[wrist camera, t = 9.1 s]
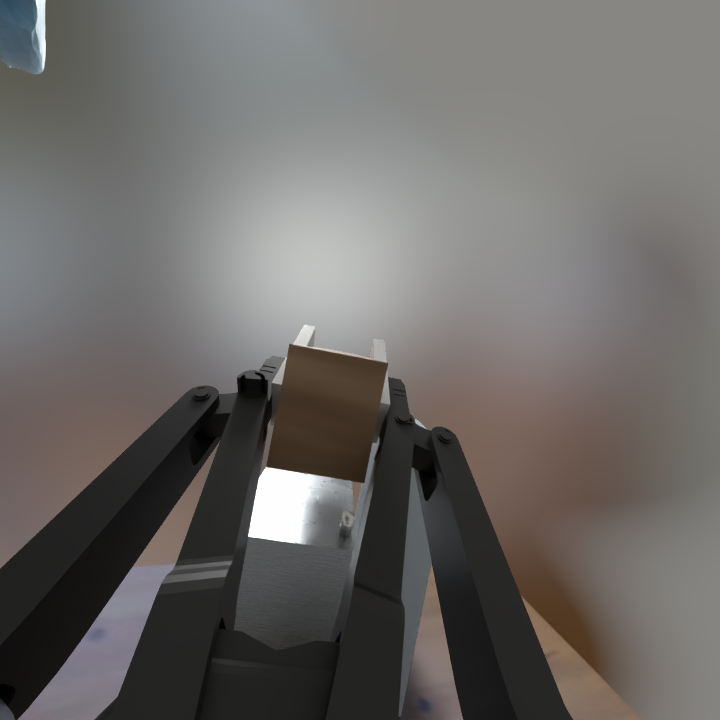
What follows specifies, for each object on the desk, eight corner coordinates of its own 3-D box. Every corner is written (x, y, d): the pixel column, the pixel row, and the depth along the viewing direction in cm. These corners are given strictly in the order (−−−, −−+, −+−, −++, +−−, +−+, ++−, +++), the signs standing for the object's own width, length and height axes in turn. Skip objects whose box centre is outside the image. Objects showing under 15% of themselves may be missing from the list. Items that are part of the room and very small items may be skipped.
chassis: (165, 842, 19) (225, 512, 19) (246, 620, 35) (280, 438, 35) (298, 850, 20) (359, 532, 19) (318, 628, 36) (352, 450, 35)
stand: (338, 710, 28) (390, 443, 27) (340, 591, 42) (375, 412, 41) (400, 717, 29) (453, 453, 28) (382, 597, 42) (417, 419, 42)
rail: (364, 483, 10) (388, 362, 10) (266, 467, 10) (289, 344, 10) (349, 387, 38) (356, 354, 38) (323, 382, 38) (329, 349, 38)
